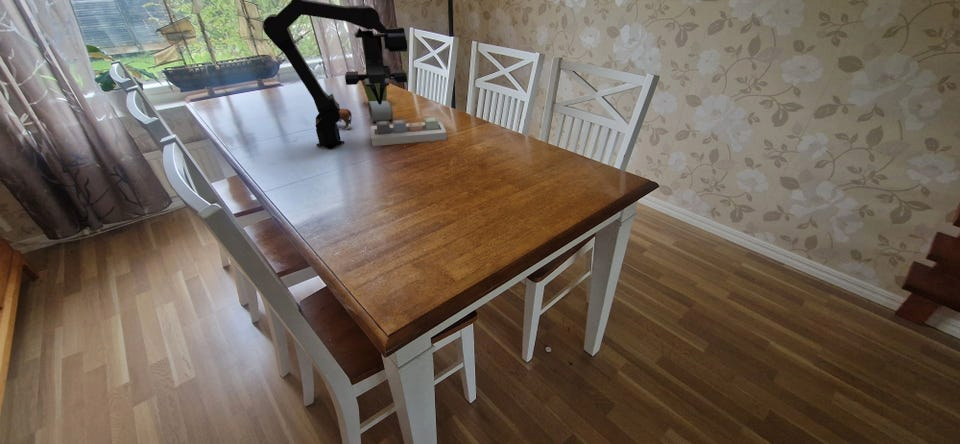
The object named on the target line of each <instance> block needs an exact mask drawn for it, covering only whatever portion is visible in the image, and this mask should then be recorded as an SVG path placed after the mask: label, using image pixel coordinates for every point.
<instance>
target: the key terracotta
mask: <svg viewBox="0 0 960 444" xmlns="http://www.w3.org/2000/svg"><path fill="white" fill-rule="evenodd" d="M421 122H422V121H419V122H418V121H417V122H416V121H415V122H409V128H410V132H417V131H423V126H422V124H421Z"/></svg>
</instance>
